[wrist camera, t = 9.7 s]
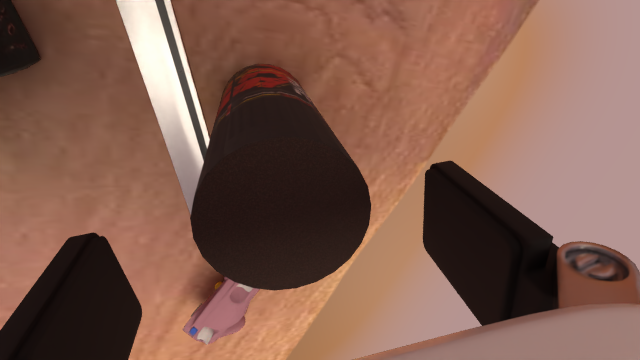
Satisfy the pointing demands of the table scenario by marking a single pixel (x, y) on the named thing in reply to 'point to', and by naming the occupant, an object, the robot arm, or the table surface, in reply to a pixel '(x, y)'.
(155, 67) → the ruler
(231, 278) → the deodorant
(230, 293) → the video game controller
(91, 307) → the robot arm
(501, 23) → the table surface
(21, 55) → the green animal figurine
